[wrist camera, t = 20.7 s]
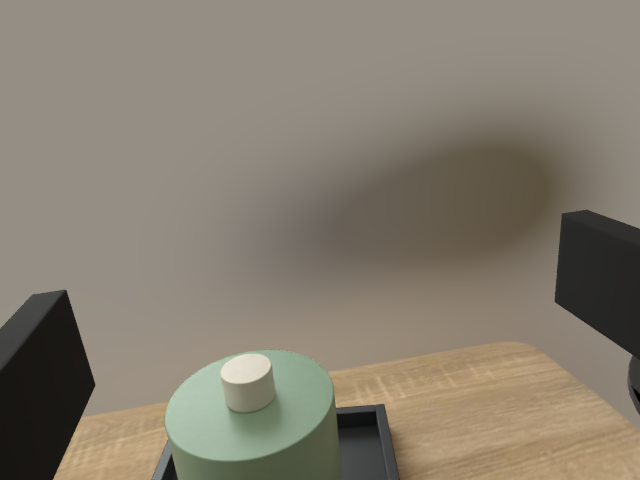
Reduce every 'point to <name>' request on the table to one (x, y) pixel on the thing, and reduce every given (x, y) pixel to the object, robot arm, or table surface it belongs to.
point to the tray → (341, 446)
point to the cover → (255, 420)
